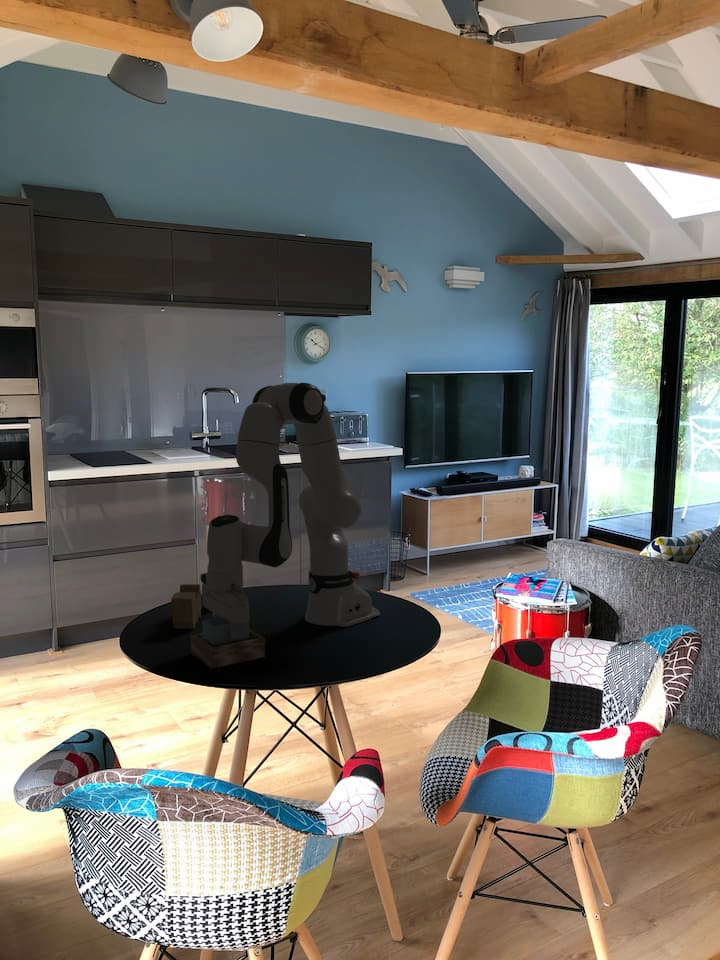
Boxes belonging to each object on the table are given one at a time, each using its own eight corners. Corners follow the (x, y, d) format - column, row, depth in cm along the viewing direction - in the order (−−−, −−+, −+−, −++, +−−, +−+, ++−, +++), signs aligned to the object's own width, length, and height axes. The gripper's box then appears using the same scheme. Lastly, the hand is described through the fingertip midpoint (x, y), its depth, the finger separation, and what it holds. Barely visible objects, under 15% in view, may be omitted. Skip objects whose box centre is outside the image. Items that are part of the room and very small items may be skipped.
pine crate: (241, 642, 219) (241, 624, 218) (265, 657, 208) (265, 638, 207) (190, 653, 210) (189, 634, 210) (212, 669, 200) (212, 649, 199)
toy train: (202, 614, 244) (201, 581, 242) (192, 633, 227) (191, 598, 225) (183, 614, 243) (182, 581, 242) (172, 633, 227) (171, 598, 225)
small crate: (238, 633, 214) (238, 614, 213) (248, 639, 209) (248, 620, 208) (202, 639, 208) (202, 620, 207) (212, 646, 203) (212, 627, 203)
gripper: (255, 587, 200) (256, 642, 202) (219, 570, 216) (220, 621, 218) (232, 591, 196) (232, 647, 198) (197, 573, 213) (198, 625, 215)
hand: (226, 633), depth 208 cm, fingers closed on small crate, 6 cm apart
